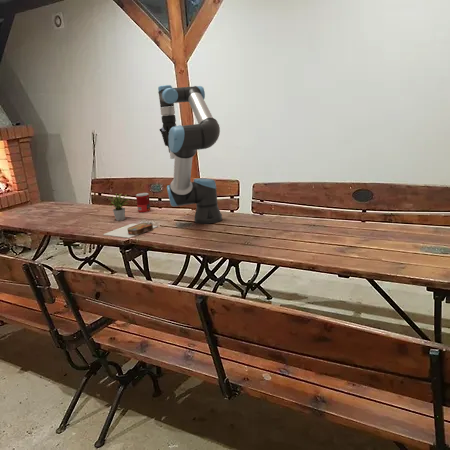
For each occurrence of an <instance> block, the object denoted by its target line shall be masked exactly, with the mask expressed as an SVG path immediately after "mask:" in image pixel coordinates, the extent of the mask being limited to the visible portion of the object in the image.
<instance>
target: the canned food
mask: <svg viewBox="0 0 450 450" xmlns="http://www.w3.org/2000/svg"><path fill="white" fill-rule="evenodd" d="M135 198H136V199H135V200H136V207H137V211H138V213H148V212H151V209H152V208H151V202H150V194H149V193H148V192H140V193H137V194H135Z"/></svg>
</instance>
